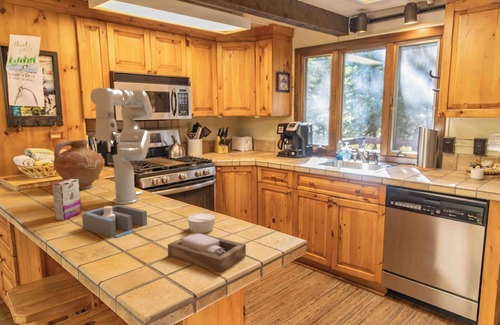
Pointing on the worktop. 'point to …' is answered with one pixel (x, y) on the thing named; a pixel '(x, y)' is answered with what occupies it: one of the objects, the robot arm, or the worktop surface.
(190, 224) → the ramekin
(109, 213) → the pepper shaker
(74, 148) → the jug
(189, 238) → the charger
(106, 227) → the shelf rack
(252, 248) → the worktop surface
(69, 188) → the candy bar box
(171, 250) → the dispenser tray
